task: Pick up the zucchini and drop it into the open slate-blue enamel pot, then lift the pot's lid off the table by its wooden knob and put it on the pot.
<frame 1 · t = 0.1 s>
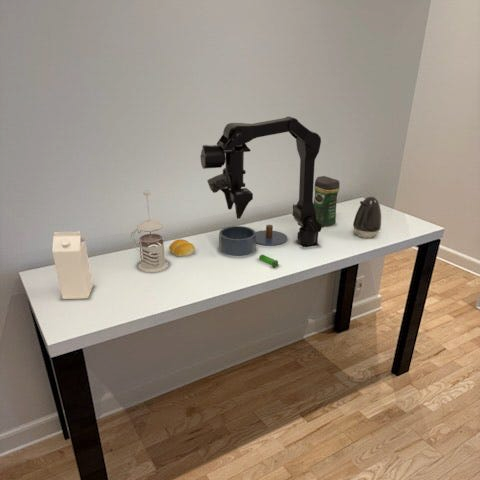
hand: (234, 213, 147), 15 cm above the table, tool pointing down, fingers open, 9 cm apart
pot: (237, 249, 157), on the table
dark grey rounded figure: (365, 235, 170), on the table
zucchini: (266, 263, 148), on the table
coffee jar: (322, 223, 182), on the table
milk carton: (78, 293, 129), on the table
bread roll: (182, 252, 155), on the table
pot lid: (268, 238, 165), point 1 cm above the table
french press: (150, 265, 146), on the table
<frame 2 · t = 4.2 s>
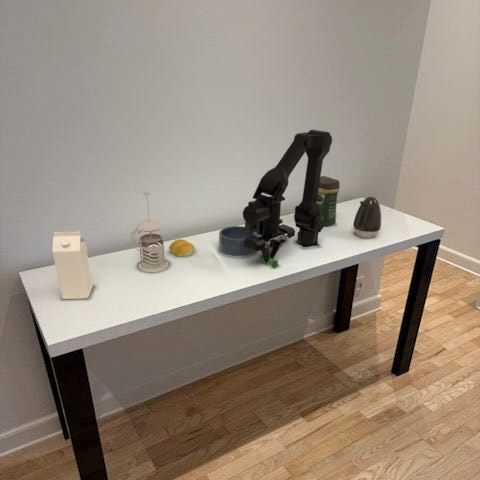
hand: (268, 261, 147), 1 cm above the table, tool pointing down, fingers closed on zucchini, 2 cm apart
zucchini: (266, 263, 148), on the table, touching gripper
everything else where it was.
when the fingers open (7 cm above the table, at t = 8.9 s): zucchini drops 3 cm and tips over, resting on pot.
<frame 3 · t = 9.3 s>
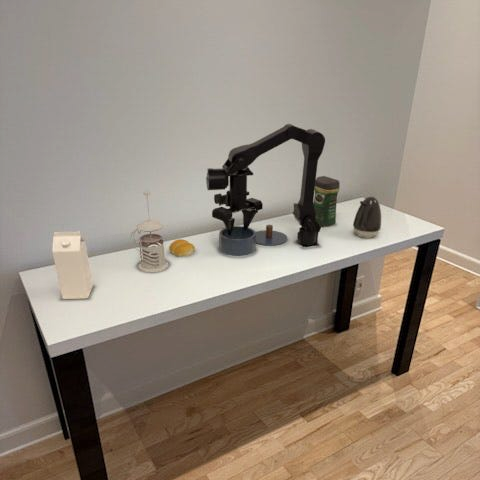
hand: (237, 232, 154), 7 cm above the table, tool pointing down, fingers open, 7 cm apart
zucchini: (229, 244, 155), point 3 cm above the table, tilted 160°, touching pot
everything else where it was.
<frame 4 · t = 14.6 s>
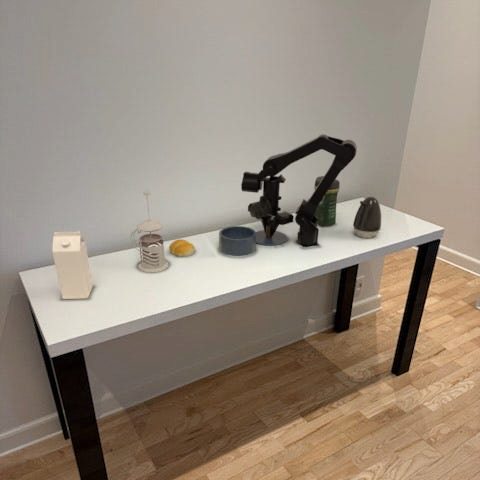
hand: (269, 234, 164), 2 cm above the table, tool pointing down, fingers closed on pot lid, 2 cm apart
pot lid: (268, 238, 165), point 1 cm above the table, touching gripper
everything else where it was.
when the fingers open (8 cm above the table, at t = 19.9 s): pot lid stays where it is, resting on pot.
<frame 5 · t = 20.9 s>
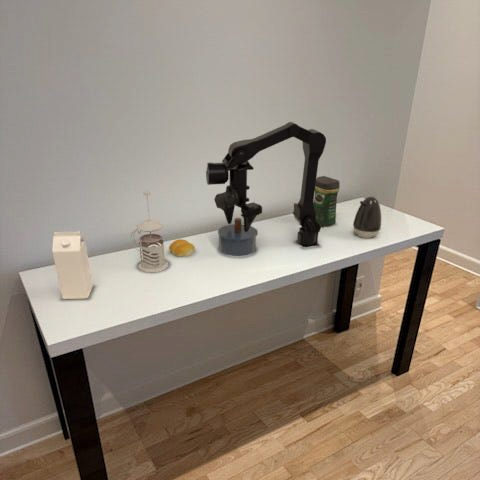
hand: (237, 227, 153), 8 cm above the table, tool pointing down, fingers open, 9 cm apart
pot lid: (237, 232, 154), point 6 cm above the table, touching pot
everything else where it was.
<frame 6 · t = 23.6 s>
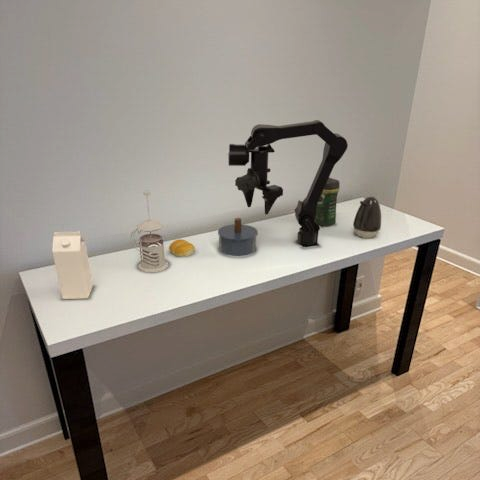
hand: (257, 210, 155), 13 cm above the table, tool pointing down, fingers open, 9 cm apart
nothing on the table moved.
at the end: zucchini inside the target area in the pot (3.0 cm from its centre), point 2.6 cm above the pot's base; pot lid 0.1 cm off-centre on the pot, point 6.4 cm above the pot's base; pot lid tilted 0° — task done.
